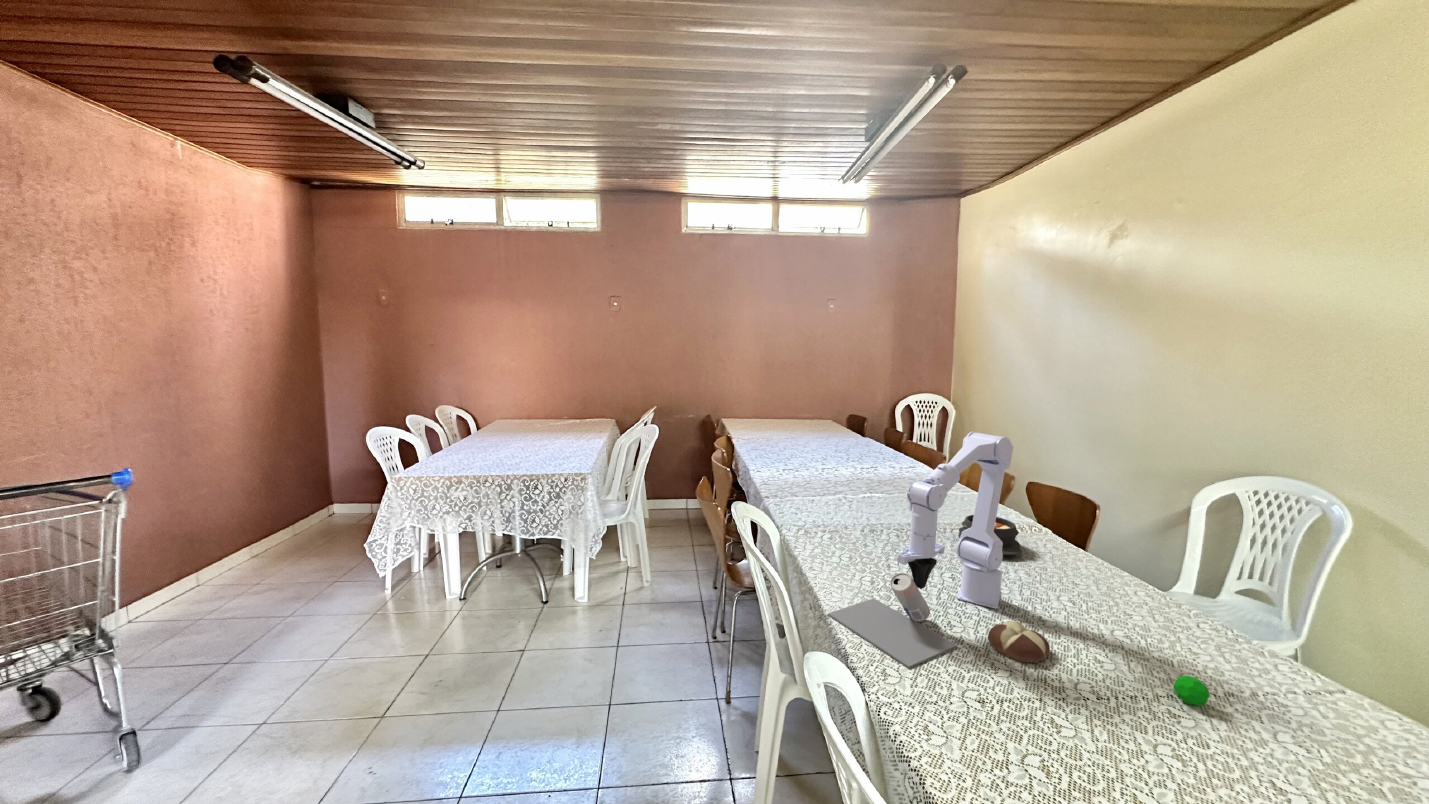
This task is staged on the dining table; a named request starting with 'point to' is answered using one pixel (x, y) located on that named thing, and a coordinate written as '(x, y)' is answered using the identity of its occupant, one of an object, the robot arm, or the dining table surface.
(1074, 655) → the dining table surface
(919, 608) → the energy drink
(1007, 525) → the casserole
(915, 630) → the mat
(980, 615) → the dining table surface
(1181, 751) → the dining table surface
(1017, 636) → the bread
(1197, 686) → the polyhedron
